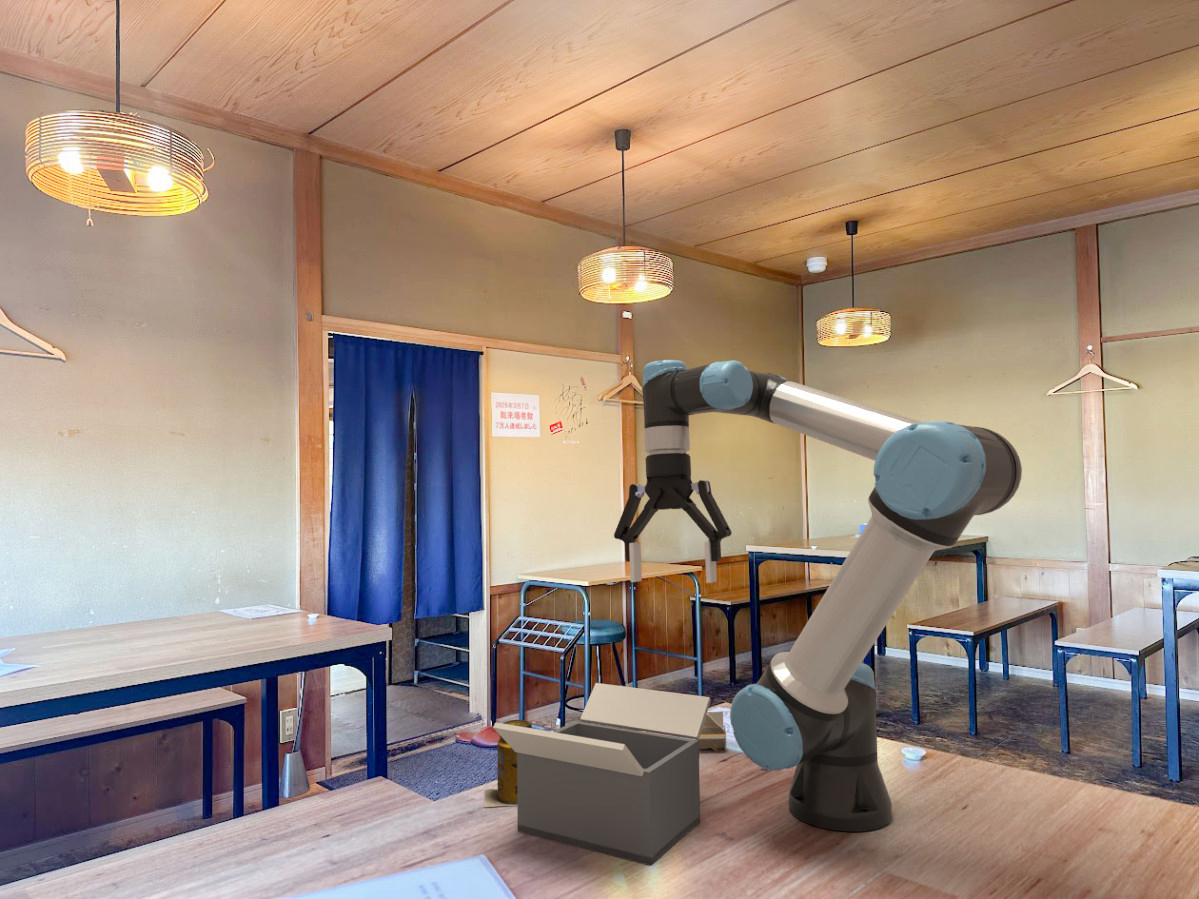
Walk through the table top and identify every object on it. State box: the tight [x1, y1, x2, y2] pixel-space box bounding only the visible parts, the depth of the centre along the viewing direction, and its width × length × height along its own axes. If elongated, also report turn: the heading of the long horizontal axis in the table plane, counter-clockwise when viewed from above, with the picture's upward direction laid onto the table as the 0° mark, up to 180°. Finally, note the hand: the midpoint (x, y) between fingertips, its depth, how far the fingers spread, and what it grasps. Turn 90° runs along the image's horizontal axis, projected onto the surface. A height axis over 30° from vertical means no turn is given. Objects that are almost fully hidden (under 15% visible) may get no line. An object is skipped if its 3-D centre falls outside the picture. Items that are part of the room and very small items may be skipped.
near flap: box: [493, 722, 644, 776], centre depth 107 cm, size 21×7×1 cm
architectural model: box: [699, 711, 727, 752], centre depth 151 cm, size 3×7×7 cm, turn 91°
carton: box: [516, 720, 701, 866], centre depth 116 cm, size 22×16×12 cm
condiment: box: [483, 719, 533, 808], centre depth 128 cm, size 7×8×12 cm
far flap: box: [579, 682, 712, 740], centre depth 127 cm, size 21×7×1 cm
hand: (672, 582), depth 129 cm, fingers open, 13 cm apart
